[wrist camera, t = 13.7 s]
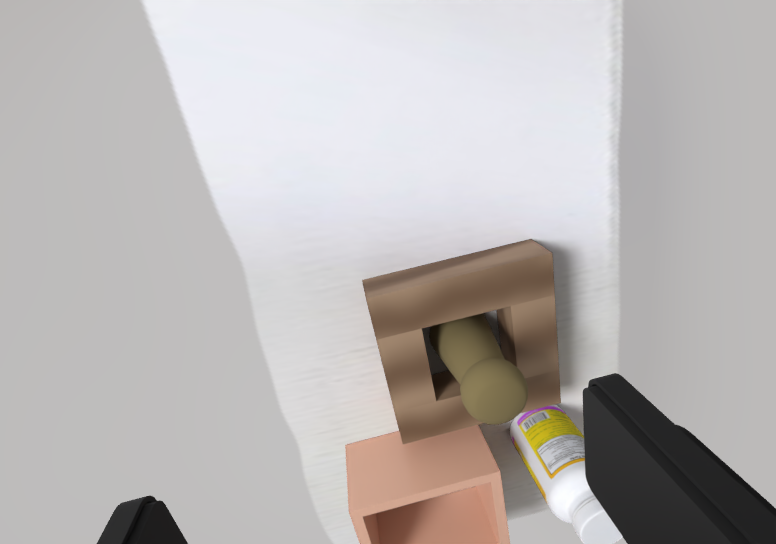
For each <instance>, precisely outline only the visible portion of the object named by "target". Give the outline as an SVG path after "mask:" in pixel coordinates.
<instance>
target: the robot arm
mask: <svg viewBox="0 0 776 544" xmlns="http://www.w3.org/2000/svg"><path fill="white" fill-rule="evenodd" d="M583 416H584V449H585V475H586V480H587V483H588V485H589V487H590V489H591V491H592V493H593V494H594V496H595V497H596V499H597V500H598V501H599V503H600V504H601V506H602V507H603V509H604V510H605V512H606V513H607V515H608V516H609V517H610V519H611V520H612V522H613V523H614V525H615V526H616V528H617V529H618V531H619V532H620V533H621V535H622V536H623V538H624V539H625V540H626V542H627V543H628V544H776V509H775V508H774V507H773V506H772V505H771V504H770V503H769V502H768V501H767V500H766V499H764V498H763V497H762V496H761V495H760V494H759V493H758V492H757V491H755V490H754V489H753V488H752V487H751V486H750V485H749V484H748V483H746V482H745V481H744V480H743V479H742V478H741V477H740V476H739V475H738V474H736V473H735V472H734V471H733V470H732V469H731V468H730V467H729V466H728V465H726V464H725V463H724V462H723V461H722V460H721V459H720V458H718V457H717V456H716V455H715V454H714V453H713V452H712V451H711V450H710V449H708V448H707V447H706V446H705V445H704V444H703V443H702V442H701V441H700V440H698V439H697V438H696V437H695V436H694V435H693V434H691V433H690V432H689V431H688V430H686V429H685V428H683V427H681V426H678V425H675V424H674V423H672V422H671V421H670V420H669V419H668V418H667V417H666V416H665V415H664V414H663V413H662V412H660V411H659V410H658V409H657V408H656V407H655V406H654V405H653V404H652V403H651V402H650V401H648V400H647V399H646V398H645V397H644V396H643V395H642V394H641V393H640V392H638V391H637V390H636V389H635V388H634V387H633V386H632V385H631V384H630V383H629V382H627V381H626V380H625V379H624V378H623V377H622V376H621V375H619V374H616V373H615V374H611V375H607V376H603V377H599V378H596V379H592V380H590V381H589V385H588V388H585V389H584V390H583ZM97 544H188V543H187V541H186V540H185V538H184V536H183V534H182V533H181V531H180V529H179V528H178V526H177V524H176V522H175V521H174V519H173V517H172V516H171V514H170V512H169V510H168V509H167V507H166V505H165V504H164V503H163V501H157V500H156V499H155V498H154V497H152V496H146V497H142V498H139V499H135V500H131V501H127V502H124V503H121V504H120V505H118V506H117V508H116V509H115V511H114V512H113V514H112V516H111V518H110V520H109V522H108V524H107V525H106V527H105V529H104V531H103V533H102V535H101V537H100V539H99V541H98V543H97Z"/></svg>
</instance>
